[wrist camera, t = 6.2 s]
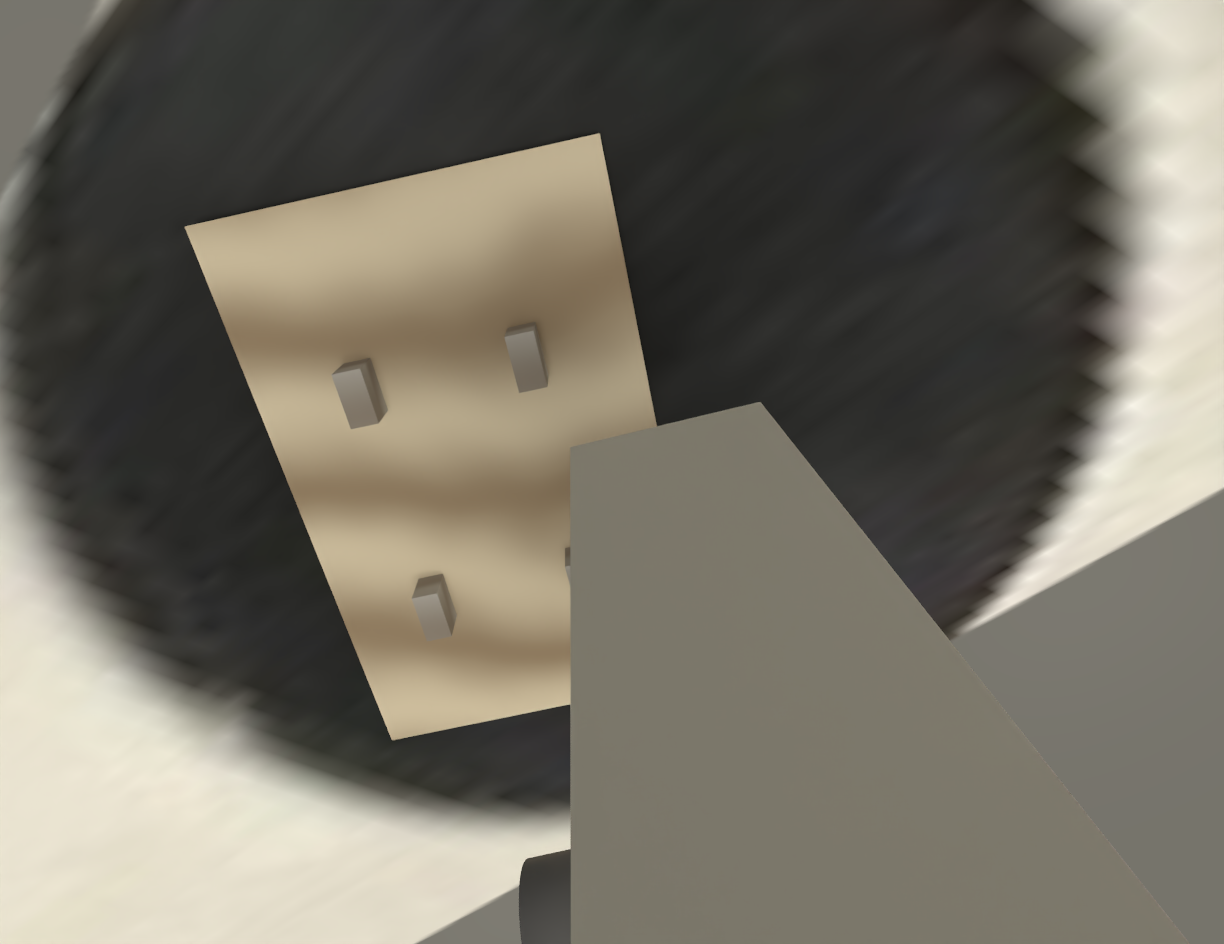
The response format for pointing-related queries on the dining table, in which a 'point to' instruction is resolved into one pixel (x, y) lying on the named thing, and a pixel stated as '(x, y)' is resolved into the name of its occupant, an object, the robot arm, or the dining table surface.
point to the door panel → (789, 730)
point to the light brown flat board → (441, 408)
